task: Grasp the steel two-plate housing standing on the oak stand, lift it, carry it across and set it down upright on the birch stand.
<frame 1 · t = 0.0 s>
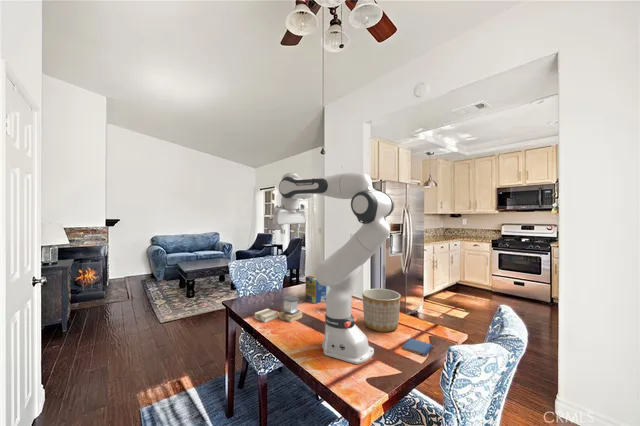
hand: (289, 233, 139), 48 cm above the table, fingers open, 8 cm apart
planter: (380, 325, 142), on the table
stand a: (290, 317, 151), on the table
blue sponge: (417, 349, 118), on the table
pipe connector: (329, 310, 163), on the table
housing: (290, 312, 151), point 3 cm above the table, touching stand a
protein box: (319, 299, 183), on the table
stand b: (266, 317, 151), on the table
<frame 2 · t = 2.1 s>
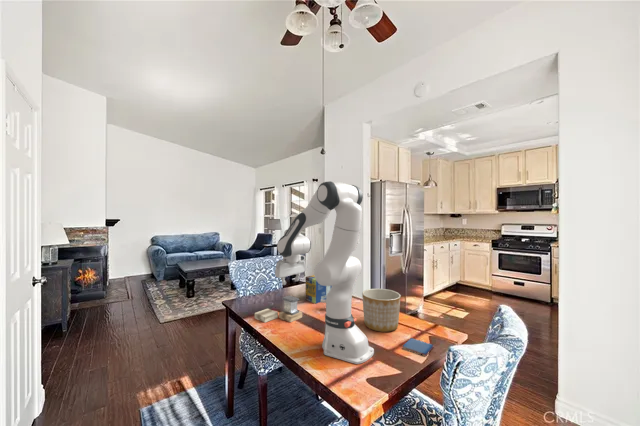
hand: (290, 282, 151), 19 cm above the table, fingers open, 8 cm apart
nothing on the table moved.
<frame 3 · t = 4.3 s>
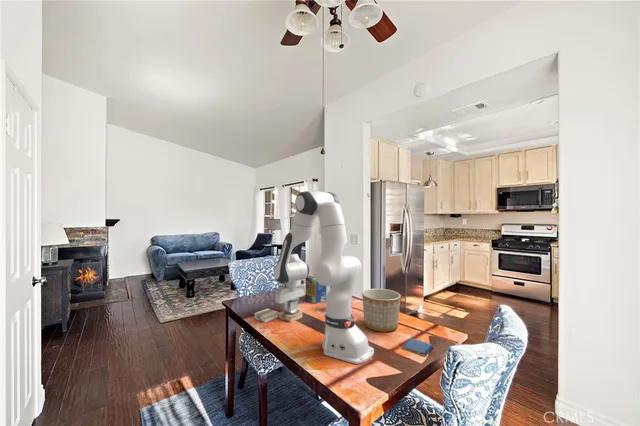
hand: (290, 307, 151), 6 cm above the table, fingers closed on housing, 5 cm apart
housing: (290, 312, 151), point 3 cm above the table, touching gripper, stand a
everything else where it was.
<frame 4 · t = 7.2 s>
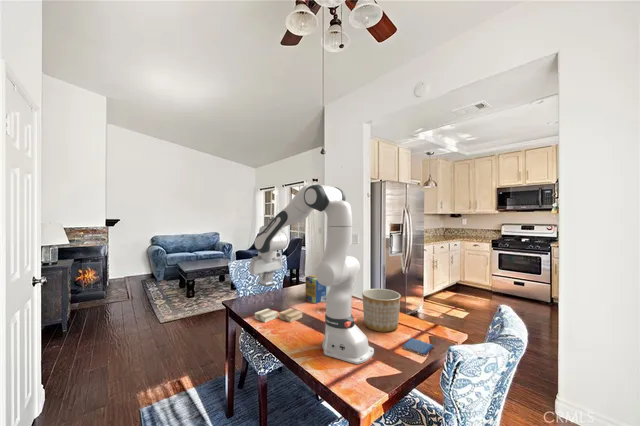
hand: (266, 279, 150), 21 cm above the table, fingers closed on housing, 5 cm apart
housing: (266, 284, 151), point 18 cm above the table, touching gripper
everything else where it was.
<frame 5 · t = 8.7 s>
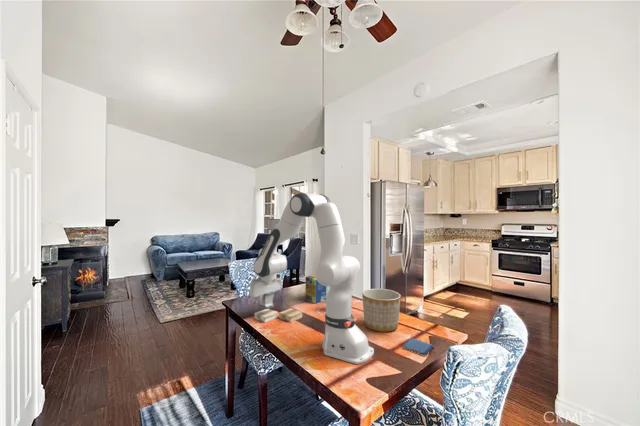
hand: (266, 301, 151), 9 cm above the table, fingers closed on housing, 5 cm apart
housing: (266, 306, 151), point 7 cm above the table, touching gripper
everything else where it was.
when the fingers open (7 cm above the table, at t = 10.0 s): housing drops 1 cm, resting on stand b.
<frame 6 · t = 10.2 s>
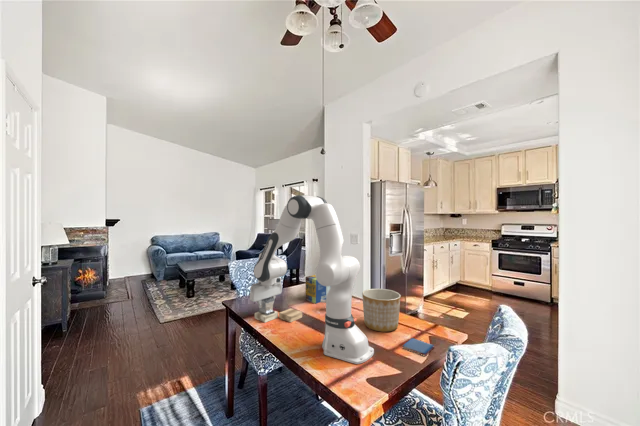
hand: (266, 305, 151), 7 cm above the table, fingers open, 6 cm apart
housing: (266, 312, 151), point 3 cm above the table, touching stand b
everything else where it was.
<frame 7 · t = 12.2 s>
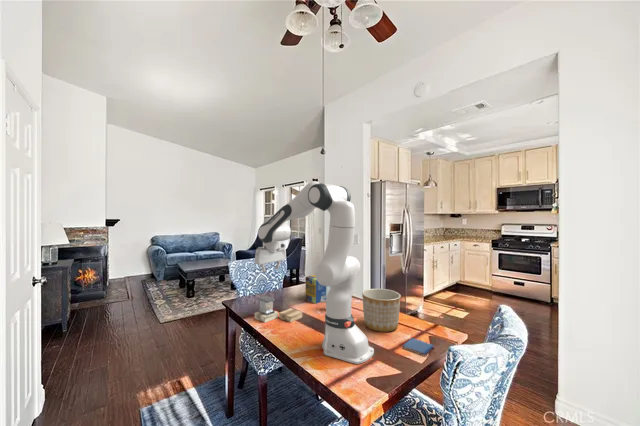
hand: (270, 270, 153), 26 cm above the table, fingers open, 8 cm apart
nothing on the table moved.
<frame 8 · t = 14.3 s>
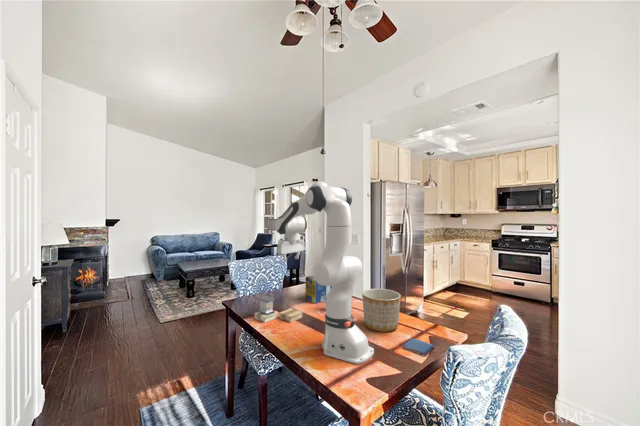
hand: (291, 260, 166), 29 cm above the table, fingers open, 8 cm apart
nothing on the table moved.
at the end: housing 0.0 cm off-centre on the stand b, point 3.0 cm above the stand b's base; housing tilted 0°; the gripper is holding nothing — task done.
